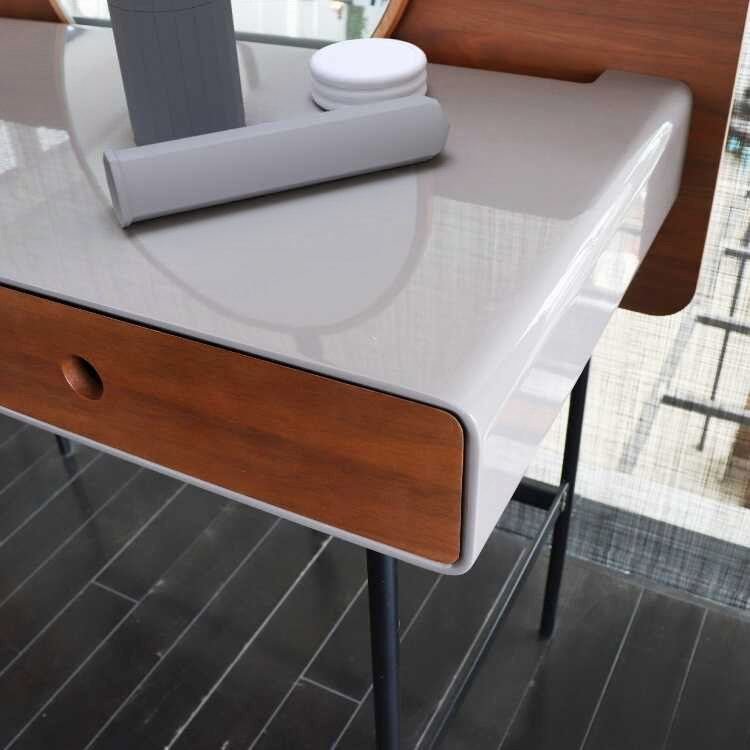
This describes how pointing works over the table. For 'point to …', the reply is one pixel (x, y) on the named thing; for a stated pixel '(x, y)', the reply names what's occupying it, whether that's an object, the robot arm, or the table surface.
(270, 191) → the tube
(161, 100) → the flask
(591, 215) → the table surface
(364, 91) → the white thick disc
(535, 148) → the table surface
